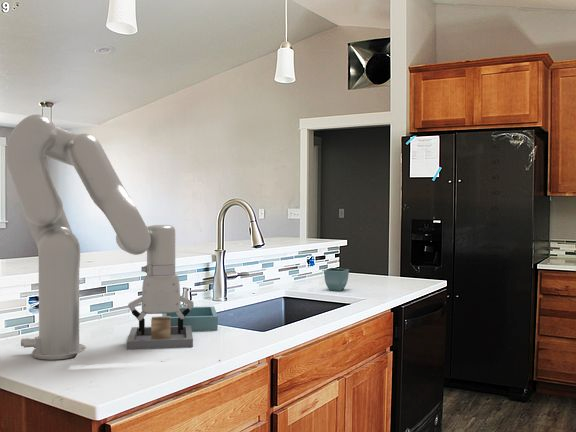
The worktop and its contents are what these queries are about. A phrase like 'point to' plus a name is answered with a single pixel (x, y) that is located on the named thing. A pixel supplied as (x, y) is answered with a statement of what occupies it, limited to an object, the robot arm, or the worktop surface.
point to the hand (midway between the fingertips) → (161, 333)
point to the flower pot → (336, 278)
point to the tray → (197, 318)
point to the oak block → (161, 327)
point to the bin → (146, 342)
